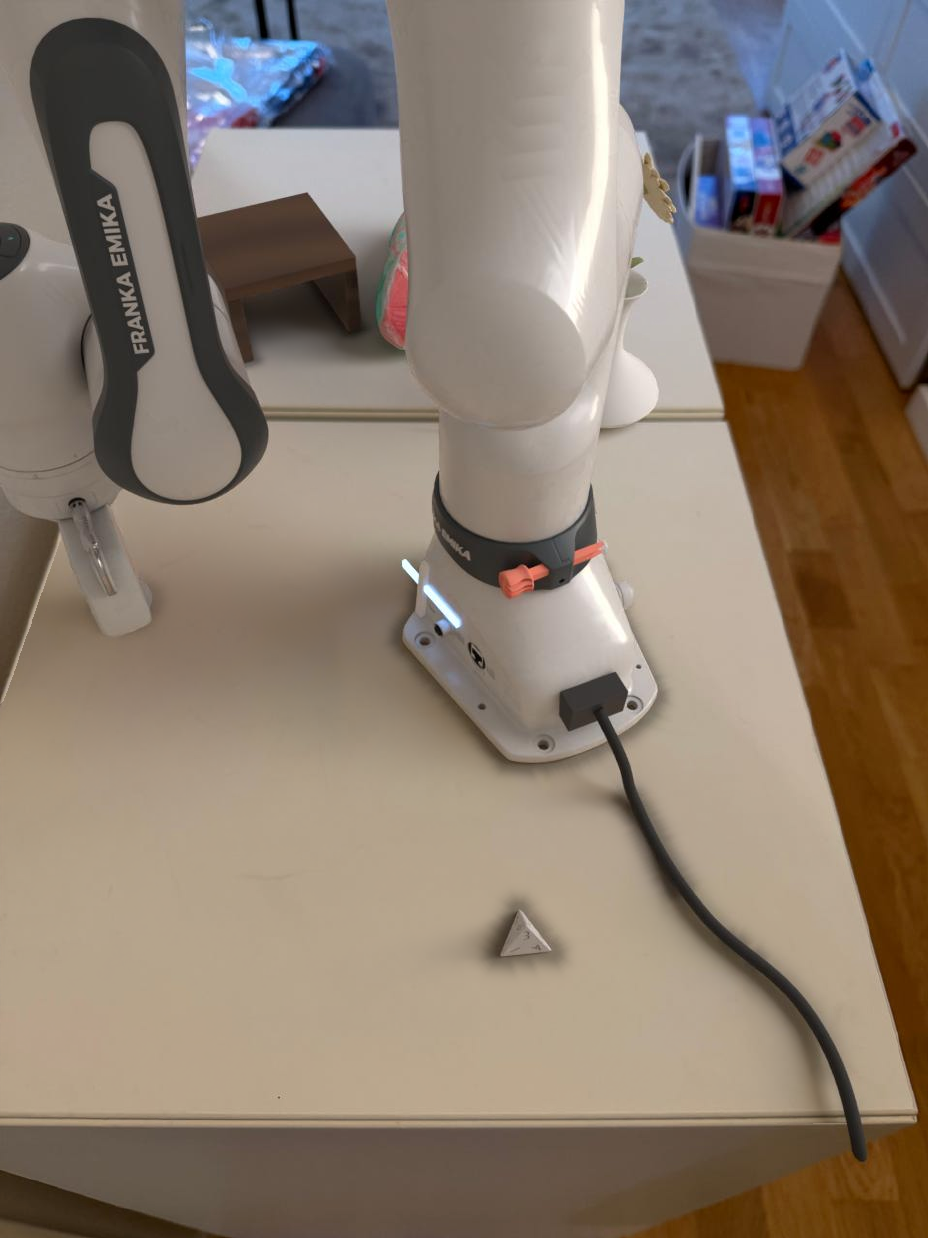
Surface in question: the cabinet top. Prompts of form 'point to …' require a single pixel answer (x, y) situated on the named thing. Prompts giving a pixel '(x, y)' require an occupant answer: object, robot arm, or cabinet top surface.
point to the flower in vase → (629, 376)
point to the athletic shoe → (394, 289)
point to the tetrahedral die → (523, 938)
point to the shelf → (278, 258)
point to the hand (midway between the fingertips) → (117, 582)
